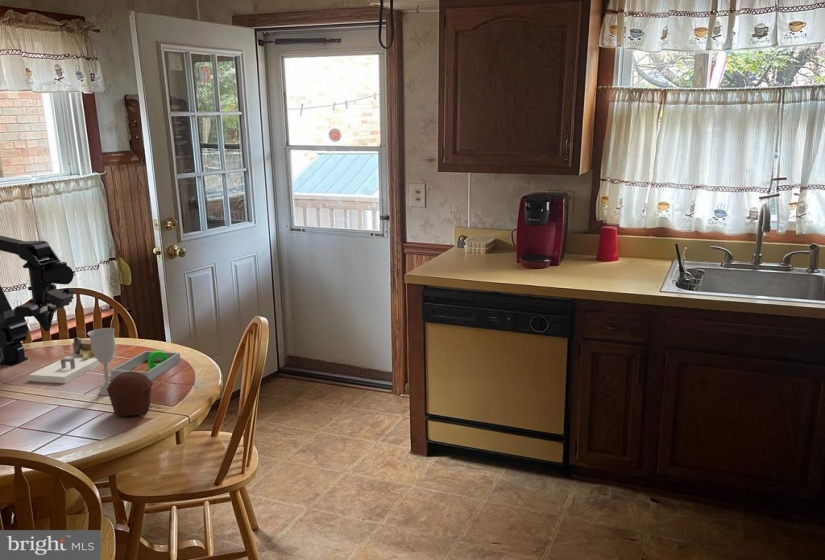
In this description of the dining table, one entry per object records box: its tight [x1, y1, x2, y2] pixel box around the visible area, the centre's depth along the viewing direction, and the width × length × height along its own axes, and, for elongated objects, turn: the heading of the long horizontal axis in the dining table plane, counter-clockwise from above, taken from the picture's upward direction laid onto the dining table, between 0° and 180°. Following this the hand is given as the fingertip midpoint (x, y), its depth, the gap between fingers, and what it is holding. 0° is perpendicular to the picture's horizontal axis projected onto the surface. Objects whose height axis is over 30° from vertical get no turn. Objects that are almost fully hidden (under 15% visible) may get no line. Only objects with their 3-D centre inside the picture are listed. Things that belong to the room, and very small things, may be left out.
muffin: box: [107, 370, 153, 417], centre depth 180 cm, size 12×11×10 cm
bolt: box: [73, 337, 94, 358], centre depth 219 cm, size 6×10×6 cm, turn 169°
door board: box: [28, 338, 116, 384], centre depth 212 cm, size 12×24×6 cm, turn 169°
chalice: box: [87, 327, 116, 396], centre depth 191 cm, size 7×7×18 cm
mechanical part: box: [147, 350, 167, 371], centre depth 211 cm, size 12×6×8 cm, turn 126°
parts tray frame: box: [110, 350, 181, 381], centre depth 210 cm, size 12×18×3 cm
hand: (47, 330), depth 212 cm, fingers closed
